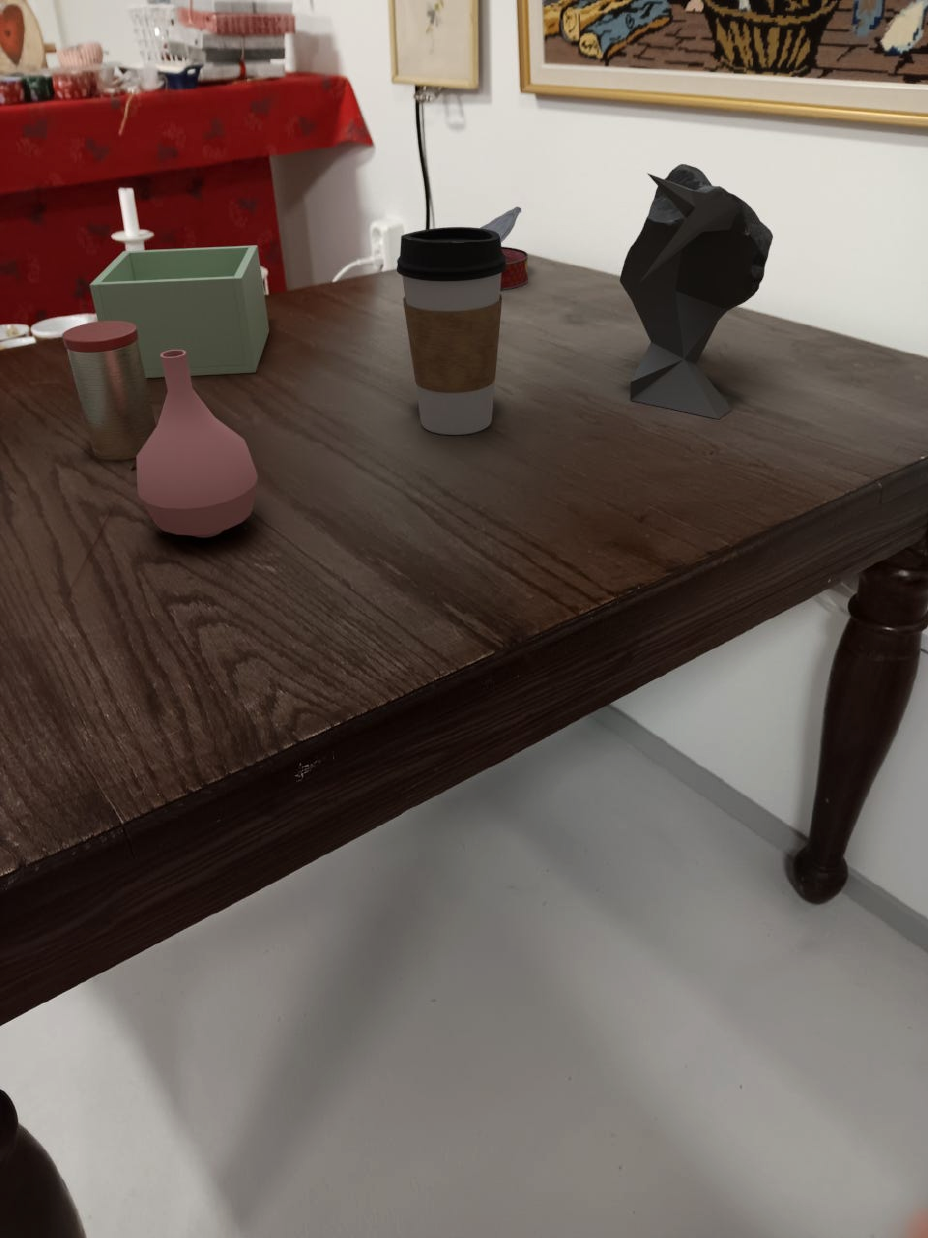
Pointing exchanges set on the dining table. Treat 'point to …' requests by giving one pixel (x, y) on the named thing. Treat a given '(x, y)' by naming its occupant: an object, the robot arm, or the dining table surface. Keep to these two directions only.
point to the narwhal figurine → (690, 284)
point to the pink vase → (193, 463)
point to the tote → (189, 306)
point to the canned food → (510, 251)
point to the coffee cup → (453, 323)
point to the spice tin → (111, 387)
